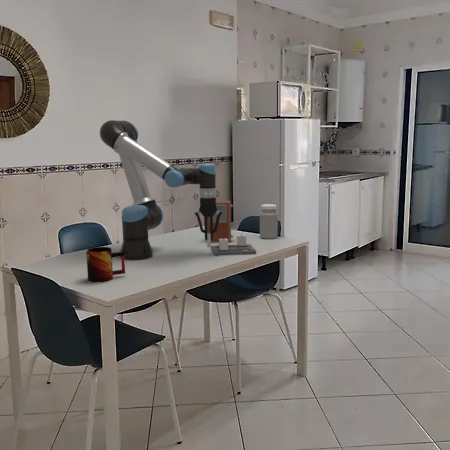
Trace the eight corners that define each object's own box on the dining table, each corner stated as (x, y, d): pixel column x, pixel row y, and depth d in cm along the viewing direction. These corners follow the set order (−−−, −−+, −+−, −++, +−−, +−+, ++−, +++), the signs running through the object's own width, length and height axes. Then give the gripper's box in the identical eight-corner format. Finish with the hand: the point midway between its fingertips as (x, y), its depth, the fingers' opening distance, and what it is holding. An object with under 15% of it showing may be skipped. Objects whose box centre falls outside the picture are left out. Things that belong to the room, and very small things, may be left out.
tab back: (238, 246, 254) (238, 235, 253) (237, 244, 258) (237, 234, 257) (246, 245, 255) (246, 235, 254) (245, 244, 258) (245, 234, 257)
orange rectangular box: (205, 240, 280) (233, 240, 279) (203, 242, 273) (232, 242, 272) (204, 200, 276) (233, 200, 275) (203, 202, 270) (231, 202, 268)
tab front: (219, 250, 245) (219, 239, 244) (219, 248, 249) (218, 238, 248) (228, 249, 246) (228, 239, 245) (227, 248, 249) (227, 238, 248)
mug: (126, 276, 209) (124, 246, 207) (98, 284, 199) (97, 253, 196) (110, 272, 215) (108, 244, 213) (82, 280, 204) (81, 250, 202)
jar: (257, 236, 287) (257, 204, 284) (273, 235, 290) (273, 203, 287) (263, 240, 278) (263, 206, 275) (280, 238, 281) (280, 205, 278)
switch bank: (214, 255, 243) (214, 251, 243) (210, 248, 259) (210, 244, 258) (256, 254, 245) (256, 249, 245) (250, 247, 261) (250, 243, 261)
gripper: (194, 198, 238) (195, 249, 241) (222, 197, 239) (223, 247, 243) (193, 196, 245) (194, 245, 249) (220, 195, 246) (221, 244, 250)
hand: (209, 246), depth 246 cm, fingers closed
